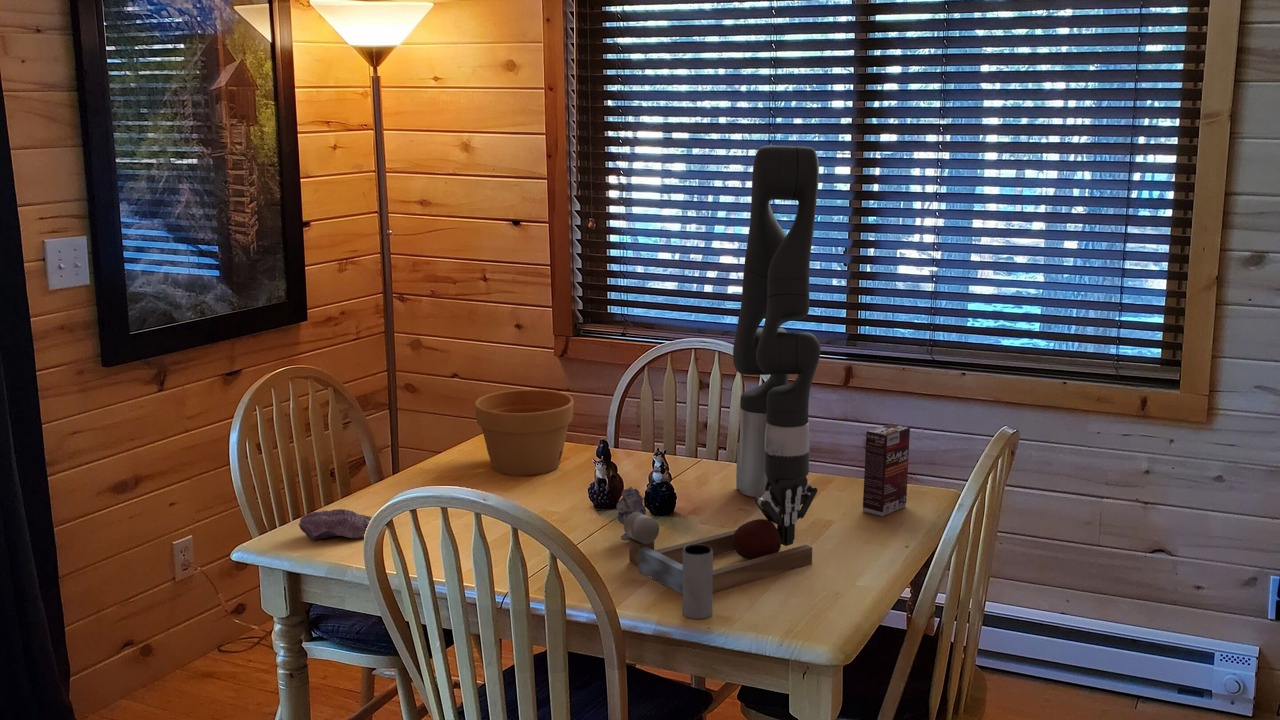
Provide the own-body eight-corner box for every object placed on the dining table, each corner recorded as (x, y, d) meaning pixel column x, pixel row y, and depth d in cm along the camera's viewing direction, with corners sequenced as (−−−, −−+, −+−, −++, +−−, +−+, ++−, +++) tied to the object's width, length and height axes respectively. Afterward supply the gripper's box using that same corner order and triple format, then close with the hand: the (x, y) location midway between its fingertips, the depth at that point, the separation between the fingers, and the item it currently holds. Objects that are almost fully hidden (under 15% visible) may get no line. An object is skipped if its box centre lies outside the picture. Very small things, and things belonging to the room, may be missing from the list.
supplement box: (883, 517, 224) (886, 435, 220) (861, 511, 227) (864, 431, 224) (908, 506, 230) (911, 426, 227) (886, 501, 233) (889, 422, 230)
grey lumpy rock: (633, 547, 209) (632, 493, 207) (611, 540, 212) (610, 486, 210) (653, 540, 212) (653, 486, 210) (632, 533, 216) (631, 480, 214)
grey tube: (708, 606, 183) (709, 542, 181) (715, 618, 179) (715, 553, 177) (679, 608, 183) (680, 544, 181) (685, 620, 178) (685, 555, 176)
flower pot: (557, 484, 245) (556, 414, 242) (461, 477, 250) (459, 409, 247) (586, 456, 265) (585, 391, 262) (496, 450, 270) (495, 386, 267)
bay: (622, 562, 202) (621, 515, 200) (739, 532, 216) (740, 488, 214) (690, 599, 186) (690, 548, 185) (811, 564, 200) (813, 516, 199)
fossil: (297, 534, 217) (296, 507, 216) (376, 526, 221) (375, 499, 220) (300, 549, 209) (299, 520, 208) (382, 539, 214) (381, 512, 213)
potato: (725, 553, 205) (726, 515, 204) (772, 549, 207) (772, 511, 206) (739, 569, 198) (740, 529, 197) (787, 564, 200) (788, 525, 199)
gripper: (800, 436, 209) (799, 529, 213) (742, 449, 202) (742, 546, 205) (830, 445, 203) (828, 541, 207) (772, 460, 196) (771, 559, 200)
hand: (785, 543), depth 206 cm, fingers closed
